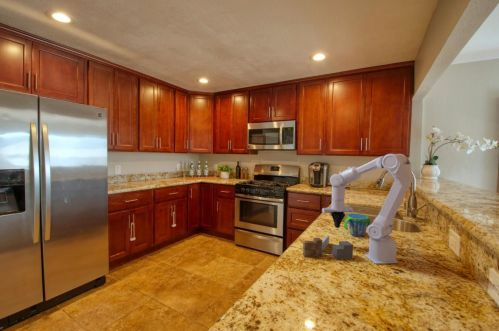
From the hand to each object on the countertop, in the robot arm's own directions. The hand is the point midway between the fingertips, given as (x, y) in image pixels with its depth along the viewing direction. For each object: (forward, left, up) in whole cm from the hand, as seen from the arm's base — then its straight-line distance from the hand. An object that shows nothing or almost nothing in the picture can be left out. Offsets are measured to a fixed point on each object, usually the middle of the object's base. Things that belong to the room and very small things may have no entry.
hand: (337, 227), depth 107 cm
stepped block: (+4, +13, -8) cm, 16 cm away
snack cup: (-18, -12, -9) cm, 23 cm away
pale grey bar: (+8, +3, -8) cm, 12 cm away
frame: (+10, +10, -8) cm, 16 cm away
